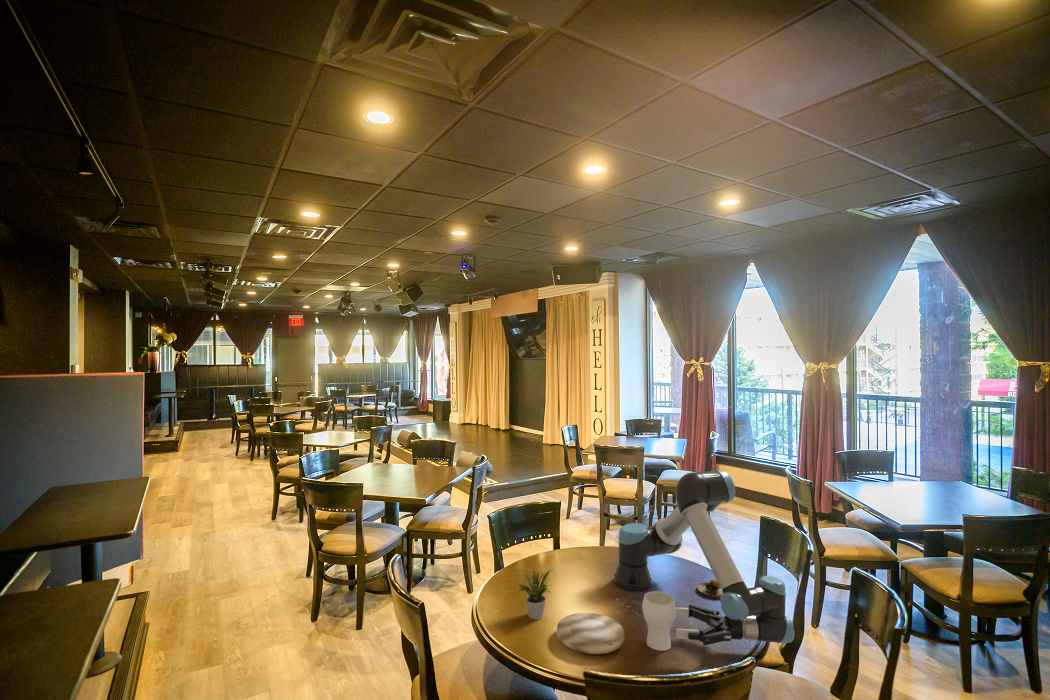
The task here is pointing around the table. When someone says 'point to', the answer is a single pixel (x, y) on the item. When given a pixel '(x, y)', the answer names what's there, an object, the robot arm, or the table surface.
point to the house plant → (535, 594)
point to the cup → (659, 619)
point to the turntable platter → (590, 633)
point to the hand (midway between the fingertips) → (672, 621)
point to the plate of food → (711, 589)
